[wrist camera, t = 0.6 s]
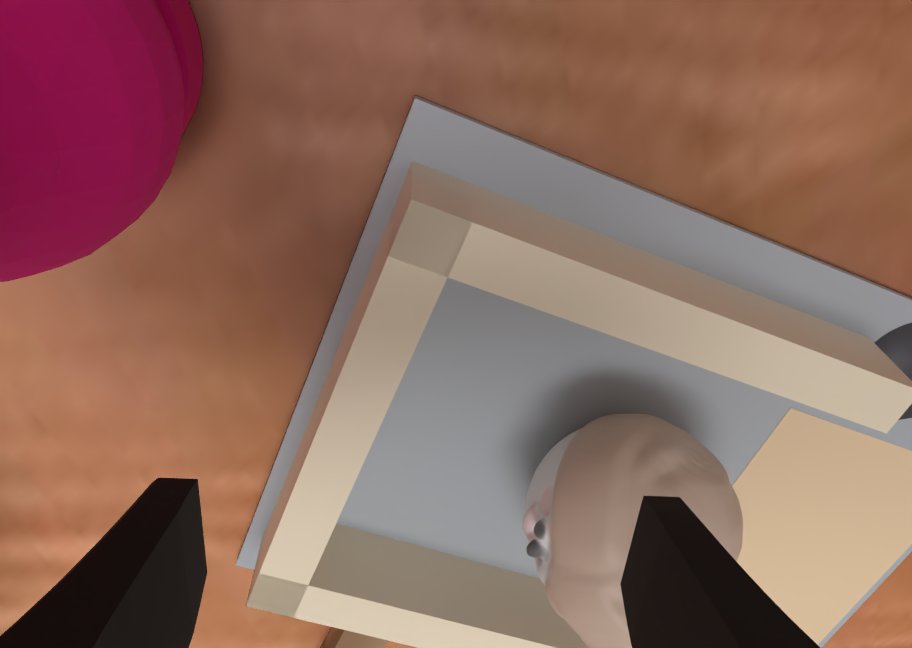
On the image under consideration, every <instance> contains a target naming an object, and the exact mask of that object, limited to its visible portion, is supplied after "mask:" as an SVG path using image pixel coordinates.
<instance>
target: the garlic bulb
mask: <svg viewBox="0 0 912 648" xmlns="http://www.w3.org/2000/svg"><path fill="white" fill-rule="evenodd" d="M643 496H668V497H680V498H681V499H682V500H683V501H684V502H685V504H686V505H687V506H688V507H689V508H690V509H691V510H692V511H693V513H694V514H695V515H696V516H697V517H698V518H699V519H700V521H701V522H702V523H703V524H704V525H705V526H706V527H707V529H708V530H709V531H710V532H711V533H712V534H713V536H714V537H715V538H716V539H717V540H718V541H719V542H720V544H721V545H722V546H723V547H724V548H725V549H726V550H727V551H728V553H729V554H730V555H731V556H732V557H733V558H734V559H735V560H736V561H737V559H738V557H739V554H740V551H741V548H742V540H743V517H742V511H741V507H740V503H739V500H738V497H737V495H736V493H735V491H734V489H733V487H732V485H731V483H730V481H729V477H728V474H727V472H726V470H725V468H724V467H723V465H722V464H721V462H720V461H719V460H718V459H717V458H716V457H715V456H714V455H713V454H712V453H711V452H710V451H709V450H708V449H707V448H706V447H705V446H704V445H702V444H701V443H700V442H699V441H697V440H696V439H695V438H694V437H692V436H691V435H690V434H688V433H687V432H685V431H684V430H682V429H680V428H678V427H676V426H674V425H672V424H670V423H668V422H666V421H664V420H662V419H660V418H658V417H655V416H652V415H647V414H612V415H606V416H603V417H600V418H597V419H595V420H593V421H591V422H590V423H588V424H587V425H585V426H584V427H583V428H581V429H579V430H577V431H575V432H573V433H571V434H569V435H568V436H566V437H565V438H563V439H562V440H561V441H559V442H558V443H557V444H556V445H555V446H554V447H553V448H552V449H551V450H550V451H549V452H548V453H547V454H546V456H545V457H544V458H543V460H542V461H541V463H540V464H539V466H538V468H537V469H536V471H535V473H534V475H533V478H532V480H531V483H530V485H529V489H528V492H527V496H526V502H525V510H524V517H523V524H522V526H523V531H524V533H525V535H526V537H527V541H528V546H527V548H526V549H527V554H528V555H529V556H530V557H534V559H535V561H536V566H537V573H538V575H539V577H540V579H541V581H542V582H543V584H544V586H545V588H546V593H547V597H548V600H549V602H550V604H551V606H552V608H553V609H554V610H555V611H556V613H557V614H558V615H559V616H561V617H562V618H563V619H564V620H565V621H566V622H567V623H568V624H569V625H570V626H571V627H572V629H573V630H574V631H575V632H576V633H577V634H578V635H579V636H580V638H581V640H582V641H583V642H584V643H585V644H586V645H587V646H588V647H590V648H632V645H631V641H630V636H629V631H628V626H627V620H626V615H625V609H624V603H623V597H622V591H621V585H620V583H621V579H622V576H623V572H624V568H625V564H626V560H627V557H628V553H629V549H630V545H631V541H632V537H633V534H634V530H635V526H636V522H637V518H638V515H639V511H640V507H641V503H642V499H643Z"/></svg>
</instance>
